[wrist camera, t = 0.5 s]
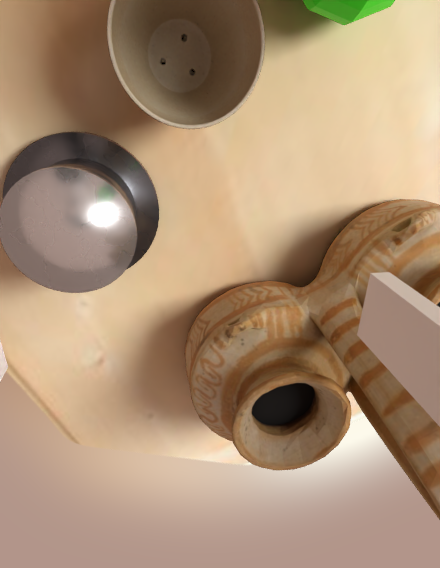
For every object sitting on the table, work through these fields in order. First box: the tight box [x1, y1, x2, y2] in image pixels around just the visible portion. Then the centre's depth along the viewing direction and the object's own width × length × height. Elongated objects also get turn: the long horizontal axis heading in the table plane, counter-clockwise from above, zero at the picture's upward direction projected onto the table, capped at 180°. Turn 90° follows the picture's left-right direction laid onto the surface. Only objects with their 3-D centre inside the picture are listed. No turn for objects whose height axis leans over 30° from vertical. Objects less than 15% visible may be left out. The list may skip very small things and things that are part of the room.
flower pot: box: [107, 0, 265, 129], centre depth 26 cm, size 10×10×7 cm
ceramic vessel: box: [185, 199, 440, 520], centre depth 31 cm, size 34×18×25 cm, turn 121°
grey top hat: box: [0, 132, 159, 293], centre depth 30 cm, size 13×13×8 cm
